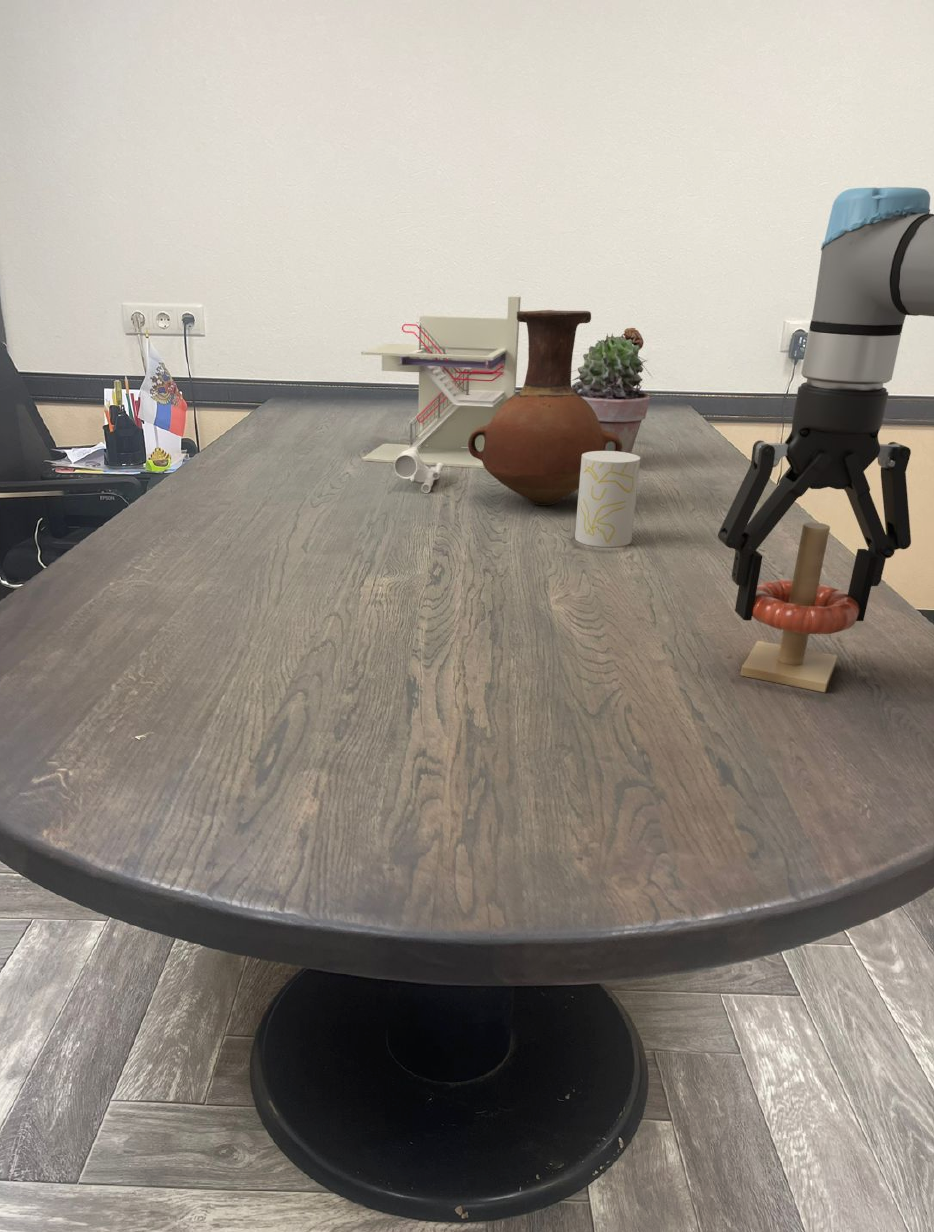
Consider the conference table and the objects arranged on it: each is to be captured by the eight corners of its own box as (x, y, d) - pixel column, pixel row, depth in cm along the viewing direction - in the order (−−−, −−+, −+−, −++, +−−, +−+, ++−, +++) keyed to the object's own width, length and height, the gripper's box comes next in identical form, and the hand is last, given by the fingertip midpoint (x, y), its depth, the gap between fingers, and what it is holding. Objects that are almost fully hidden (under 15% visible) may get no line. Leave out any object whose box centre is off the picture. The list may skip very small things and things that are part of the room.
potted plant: (542, 469, 182) (551, 331, 172) (568, 451, 199) (578, 324, 188) (636, 478, 176) (651, 335, 166) (655, 459, 192) (670, 328, 182)
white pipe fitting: (425, 484, 177) (446, 465, 175) (417, 503, 164) (439, 482, 162) (396, 452, 175) (416, 433, 173) (385, 469, 162) (407, 447, 161)
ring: (860, 612, 96) (866, 587, 95) (848, 646, 88) (854, 619, 86) (755, 594, 100) (759, 571, 99) (733, 625, 92) (737, 599, 91)
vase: (609, 492, 166) (627, 308, 153) (621, 521, 148) (643, 315, 135) (468, 487, 168) (474, 305, 155) (463, 516, 150) (469, 312, 137)
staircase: (359, 462, 186) (356, 297, 173) (384, 445, 202) (383, 293, 189) (497, 471, 180) (506, 301, 167) (512, 453, 196) (520, 296, 183)
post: (835, 664, 98) (866, 521, 91) (825, 692, 91) (857, 541, 85) (756, 649, 101) (780, 510, 95) (740, 675, 95) (765, 529, 89)
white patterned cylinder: (570, 543, 137) (577, 459, 131) (579, 529, 144) (586, 449, 138) (627, 549, 134) (636, 464, 129) (634, 534, 141) (643, 453, 136)
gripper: (948, 379, 88) (894, 603, 98) (704, 376, 88) (673, 602, 97) (994, 390, 81) (931, 630, 91) (730, 387, 81) (694, 629, 90)
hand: (798, 615), depth 94 cm, fingers closed on ring, 10 cm apart
